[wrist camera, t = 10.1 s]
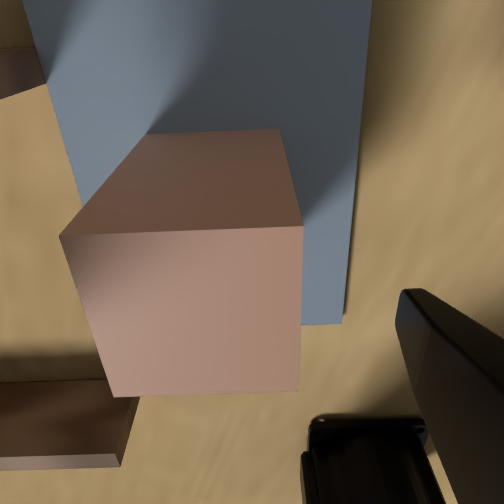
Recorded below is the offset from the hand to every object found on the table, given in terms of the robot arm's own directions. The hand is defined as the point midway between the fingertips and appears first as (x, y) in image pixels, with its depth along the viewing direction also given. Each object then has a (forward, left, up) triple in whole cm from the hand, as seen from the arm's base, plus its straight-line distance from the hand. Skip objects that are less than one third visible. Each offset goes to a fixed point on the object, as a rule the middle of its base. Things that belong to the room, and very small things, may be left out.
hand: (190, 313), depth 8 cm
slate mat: (0, 0, -7) cm, 7 cm away
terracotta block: (0, 0, -7) cm, 7 cm away
